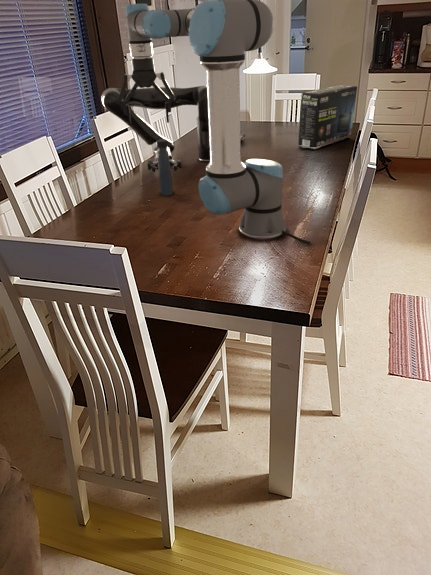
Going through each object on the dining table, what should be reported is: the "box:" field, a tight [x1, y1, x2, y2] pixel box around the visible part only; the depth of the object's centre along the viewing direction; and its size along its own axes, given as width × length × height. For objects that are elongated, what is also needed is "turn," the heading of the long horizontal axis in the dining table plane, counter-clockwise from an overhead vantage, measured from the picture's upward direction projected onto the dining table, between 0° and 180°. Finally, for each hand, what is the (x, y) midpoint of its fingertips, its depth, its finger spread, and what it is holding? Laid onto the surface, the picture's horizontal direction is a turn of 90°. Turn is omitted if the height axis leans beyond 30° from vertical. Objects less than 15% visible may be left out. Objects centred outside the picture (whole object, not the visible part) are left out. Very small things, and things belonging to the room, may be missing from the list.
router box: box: [297, 84, 358, 151], centre depth 238 cm, size 36×11×27 cm, turn 134°
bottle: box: [157, 148, 174, 197], centre depth 180 cm, size 5×5×21 cm
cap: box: [156, 139, 168, 148], centre depth 175 cm, size 4×4×2 cm
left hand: (164, 169), depth 191 cm, fingers open, 8 cm apart
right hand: (148, 123), depth 165 cm, fingers open, 13 cm apart
